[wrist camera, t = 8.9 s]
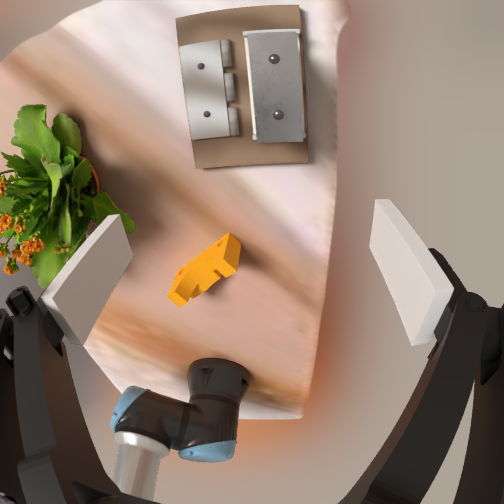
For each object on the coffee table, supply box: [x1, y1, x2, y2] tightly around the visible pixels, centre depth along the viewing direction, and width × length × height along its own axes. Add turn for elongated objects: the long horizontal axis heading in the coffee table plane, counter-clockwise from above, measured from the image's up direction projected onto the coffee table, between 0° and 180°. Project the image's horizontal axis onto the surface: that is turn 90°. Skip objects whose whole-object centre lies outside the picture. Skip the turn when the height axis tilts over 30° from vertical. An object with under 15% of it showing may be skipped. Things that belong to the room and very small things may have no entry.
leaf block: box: [247, 31, 303, 143], centre depth 24 cm, size 10×4×9 cm, turn 5°
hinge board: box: [176, 5, 308, 169], centre depth 28 cm, size 20×14×2 cm
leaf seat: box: [243, 29, 306, 140], centre depth 27 cm, size 13×6×2 cm, turn 5°
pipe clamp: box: [168, 232, 241, 307], centre depth 43 cm, size 12×4×6 cm, turn 131°
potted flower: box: [0, 104, 135, 290], centre depth 31 cm, size 25×24×18 cm
